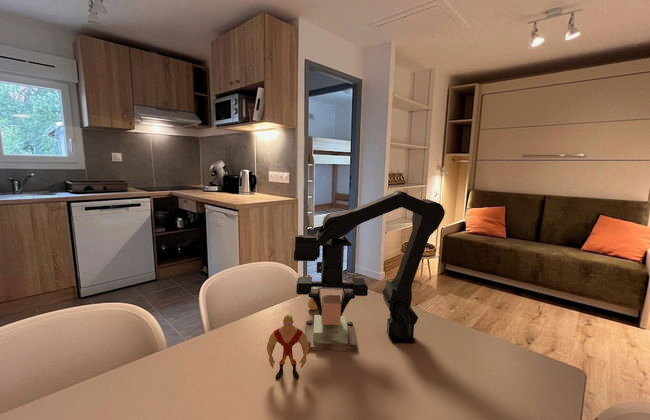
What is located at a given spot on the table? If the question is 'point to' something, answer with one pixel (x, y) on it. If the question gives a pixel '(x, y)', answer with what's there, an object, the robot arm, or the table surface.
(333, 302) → the terracotta brick
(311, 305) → the figurine
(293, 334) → the action figure
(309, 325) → the tower base
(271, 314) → the table surface
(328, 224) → the robot arm
